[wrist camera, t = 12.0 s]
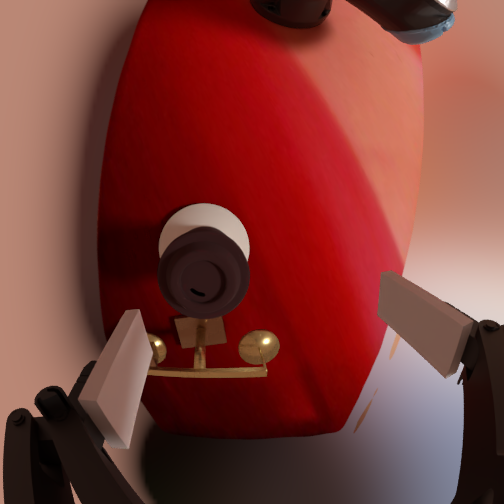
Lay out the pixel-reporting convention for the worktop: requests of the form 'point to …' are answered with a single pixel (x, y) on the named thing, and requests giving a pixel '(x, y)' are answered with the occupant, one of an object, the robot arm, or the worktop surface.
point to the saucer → (204, 217)
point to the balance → (208, 333)
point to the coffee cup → (203, 273)
